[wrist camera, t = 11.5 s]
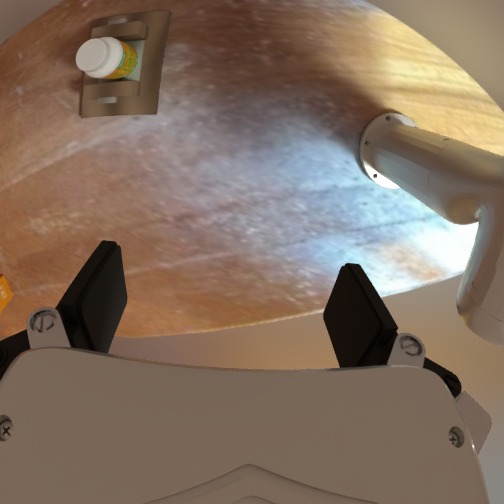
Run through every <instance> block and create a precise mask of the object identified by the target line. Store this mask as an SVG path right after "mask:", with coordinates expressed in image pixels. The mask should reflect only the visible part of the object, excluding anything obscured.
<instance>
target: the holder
mask: <svg viewBox="0 0 504 504" xmlns="http://www.w3.org/2000/svg"><path fill="white" fill-rule="evenodd" d="M170 16H171V11H170V10H166V11H152V12H141V13H133V14H126V15H119V16H113V17H108V18H102V19H98V20H93V22H92V27H91V32H90V37H89V40H90V39H95V38H98V39H99V38H102V37H112V38H115V39H117V40H120V41H122V42H124V43H126V44H128V45H130V46H132V47H134V48H135V49H136V50H137V52H138V54H139V63H138V66H137V68H136V69H135V71H134V72H133V73H132V74H131V75H130V76H128V77H127V78H124V79H121V80H112V79H102V78H93V77H90V76H88V75H87V74H86V73H85V72H84V81H83V92H82V109H81V118H89V117H100V116H116V115H145V114H157V109H158V98H159V88H160V79H161V71H162V64H163V57H164V50H165V44H166V38H167V32H168V27H169V21H170Z"/></svg>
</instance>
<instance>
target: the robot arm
mask: <svg viewBox="0 0 504 504" xmlns="http://www.w3.org/2000/svg"><path fill="white" fill-rule="evenodd" d="M386 118H387V119H386ZM365 141H366V143H365ZM359 152H360V160H361V164H362V166H363V169H364V171H365V172H366V174H367V175H368V177H369V178H370V179H371V180H373V181H374V182H375V183H377V184H378V185H380V186H382V187H385V188H399V187H400V188H402V189H403V190H405V191H406V192H408V193H409V194H411V195H412V196H414V197H415V198H416V199H418V200H419V201H421V202H422V203H424V204H425V205H426V206H428V207H429V208H431V209H432V210H433V211H435V212H436V213H437V214H439V215H440V216H442V217H443V218H444V219H446V220H447V221H449V222H452V223H454V224H459V225H466V224H472V223H476V222H479V226H478V230H477V234H476V238H475V243H474V246H473V250H472V253H471V255H470V258H469V261H468V264H467V267H466V269H465V272H464V275H463V277H462V280H461V282H460V285H459V289H458V292H457V298H456V306H457V310H458V313H459V316H460V318H461V320H462V321H463V322H464V324H465V325H466V326H467V327H468V328H469V329H470V330H471V331H472V332H474V333H475V334H476V335H478V336H479V337H481V338H483V339H485V340H487V341H489V342H491V343H493V344H495V345H498V346H500V347H502V348H504V156H501V155H498V154H494V153H491V152H489V151H486V150H483V149H480V148H477V147H475V146H472V145H469V144H467V143H464V142H460V141H458V140H455V139H452V138H449V137H446V136H443V135H440V134H436V133H433V132H430V131H427V130H423V129H420V128H419V127H418V126H417V125H416V124H415V122H414V121H412V120H411V119H410V118H409V117H407V116H405V115H402V114H399V113H392V112H391V113H384V114H381V115H379V116H377V117H375V118H374V119H373V120H372V121H371V122H370V123H369V124H368V125H367V127H366V128H365V130H364V132H363V134H362V137H361V141H360V148H359ZM373 174H374V175H373ZM126 304H127V291H126V285H125V278H124V271H123V263H122V255H121V248H120V246H119V245H117V243H116V242H115V241H105V240H103V241H102V242H101V243H100V244H99V246H98V247H97V248H96V250H95V251H94V252H93V254H92V255H91V256H90V258H89V259H88V260H87V262H86V263H85V265H84V266H83V267H82V269H81V270H80V272H79V273H78V274H77V276H76V277H75V279H74V280H73V282H72V283H71V285H70V286H69V288H68V289H67V291H66V292H65V294H64V295H63V297H62V299H61V300H60V302H59V303H58V305H57V307H56V308H52V307H42V308H39V309H37V310H35V311H34V312H33V313H31V315H30V316H29V317H28V320H27V324H26V327H27V329H26V330H24V331H22V332H19V333H17V334H15V335H13V336H10V337H8V338H6V339H4V340H2V341H0V504H490V503H489V498H488V493H487V488H486V484H485V480H484V476H483V472H482V468H481V465H480V461H479V458H478V454H479V452H480V450H481V448H482V445H483V444H484V442H485V440H486V437H487V435H488V433H489V431H490V429H491V425H492V423H491V418H490V416H489V414H488V413H487V412H486V411H485V410H484V409H483V408H482V407H481V406H480V405H479V404H478V403H477V402H476V401H475V400H474V399H473V398H472V397H471V396H470V395H469V394H468V393H467V392H466V391H464V392H463V393H462V392H461V383H460V381H459V379H458V377H457V376H456V375H455V374H453V373H452V372H450V371H448V370H447V369H445V368H443V367H442V366H440V365H438V364H436V363H434V362H433V361H431V360H429V359H428V358H426V357H425V352H426V351H425V347H424V344H423V343H422V341H421V340H420V339H419V338H417V337H416V336H414V335H412V334H410V333H401V334H399V335H398V334H397V332H396V331H397V329H398V327H397V325H396V323H395V321H394V320H393V318H392V316H391V315H390V313H389V311H388V309H387V308H386V306H385V304H384V303H383V301H382V299H381V298H380V296H379V294H378V293H377V291H376V289H375V288H374V286H373V285H372V283H371V281H370V280H369V278H368V277H367V275H366V274H365V272H364V270H363V269H362V267H361V266H360V265H359V264H353V263H346V264H345V266H342V267H341V269H340V271H339V274H338V277H337V280H336V282H335V285H334V287H333V290H332V293H331V295H330V298H329V300H328V303H327V305H326V308H325V310H324V314H323V319H324V322H325V325H326V327H327V330H328V333H329V336H330V339H331V342H332V345H333V348H334V351H335V354H336V357H337V360H338V363H339V366H340V368H331V369H306V370H305V369H302V370H264V369H234V368H218V367H205V366H194V365H182V364H174V363H165V362H158V361H151V360H144V359H138V358H131V357H125V356H119V355H113V354H108V351H109V348H110V345H111V343H112V340H113V337H114V334H115V332H116V329H117V327H118V324H119V321H120V319H121V316H122V314H123V311H124V309H125V307H126Z"/></svg>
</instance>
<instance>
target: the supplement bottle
mask: <svg viewBox="0 0 504 504" xmlns="http://www.w3.org/2000/svg"><path fill="white" fill-rule="evenodd" d="M138 63H139V54H138V52H137V50H136V49H135V48H134V47H132V46H130V45H128V44H126V43H124V42H122V41H120V40H117V39H115V38H112V37H102V38H99V39H98V38H95V39H90V40H88V41H86V42H85V43H84V44H83V45H82V46H81V47H80V48H79V50H78V52H77V54H76V65H77V66H78V68H79V69H80V70H82V71H84V72H85V73H86V74H87V75H88V76H90V77H93V78H102V79H112V80H121V79H124V78H127V77H128V76H130V75H131V74H132V73H133V72H134V71H135V69H136V68H137V66H138Z"/></svg>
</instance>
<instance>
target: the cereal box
mask: <svg viewBox="0 0 504 504" xmlns="http://www.w3.org/2000/svg"><path fill="white" fill-rule="evenodd" d="M12 296H13V295H12V293H11V291H10V289H9V287H8V284H7V282H6V280H5V278H4V275H0V313H1V312H2V310H3V309H4V307H5V306H6V305H7V303H8V302H9V300H10V299H11V298H12Z"/></svg>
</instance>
